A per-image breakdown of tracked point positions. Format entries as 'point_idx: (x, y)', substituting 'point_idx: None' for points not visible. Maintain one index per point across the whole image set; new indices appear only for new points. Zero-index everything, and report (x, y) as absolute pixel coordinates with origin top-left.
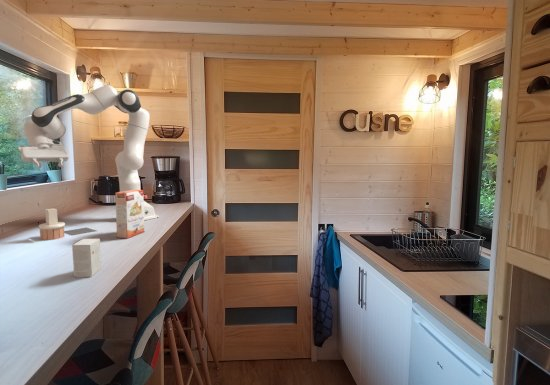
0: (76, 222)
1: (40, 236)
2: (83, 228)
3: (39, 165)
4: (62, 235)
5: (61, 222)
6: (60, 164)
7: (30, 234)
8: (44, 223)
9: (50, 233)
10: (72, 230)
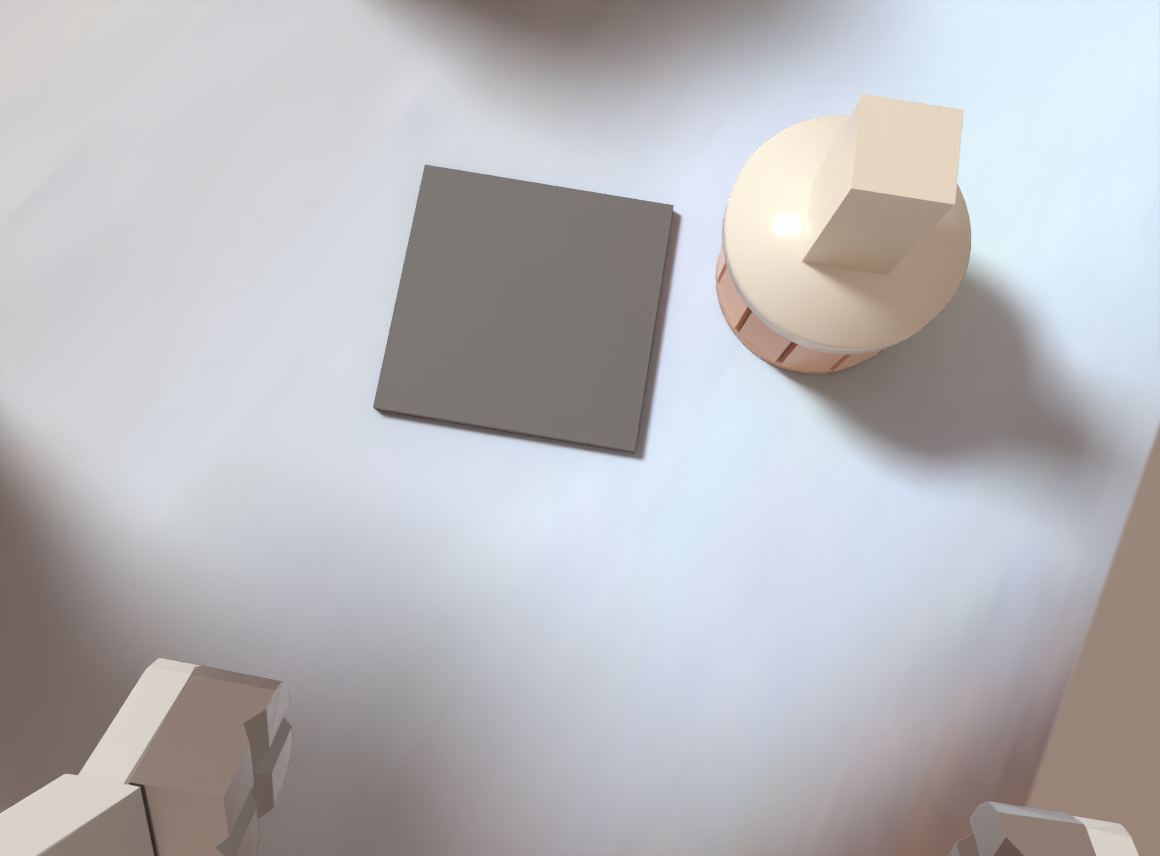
0: None
1: None
2: (422, 385)
3: (1070, 820)
4: None
5: (740, 234)
6: (239, 686)
7: (841, 645)
8: (871, 338)
9: None
10: (541, 395)
